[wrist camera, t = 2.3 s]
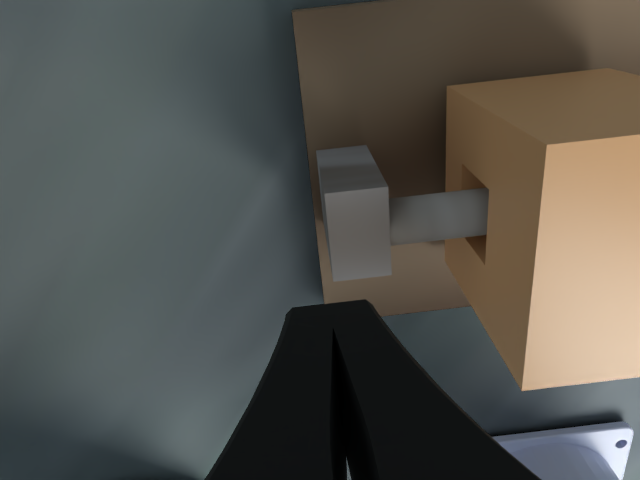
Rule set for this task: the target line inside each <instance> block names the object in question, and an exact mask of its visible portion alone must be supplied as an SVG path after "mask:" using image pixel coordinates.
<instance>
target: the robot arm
mask: <svg viewBox="0 0 640 480" xmlns="http://www.w3.org/2000/svg"><path fill="white" fill-rule="evenodd" d="M633 434H634V431H633V429H632V428H631V427H630V425H629V424H628V423H626V422H612V423H603V424H595V425H587V426H578V427H570V428H562V429H553V430H545V431H537V432H528V433H520V434H512V435H503V436H495V437H491V436H490V435H489V434H488V433H487V432H486V431H484V430H483V429H482V428H481V427H480V426H479V425H478V424H477V423H476V422H475V421H474V420H473V419H472V418H471V417H470V416H469V415H468V414H467V413H466V412H464V411H463V410H462V409H461V408H460V407H459V406H458V405H457V404H456V403H455V402H454V401H453V400H452V399H451V398H450V397H449V396H448V395H447V394H446V393H445V392H444V391H443V390H442V389H441V388H440V386H439V385H438V384H437V383H436V382H435V381H434V380H433V379H432V378H431V377H430V376H429V375H428V373H427V372H426V371H425V370H424V369H423V368H422V367H421V366H420V365H419V364H418V362H417V361H416V360H415V359H414V358H413V357H412V356H411V355H410V353H409V352H408V351H407V350H406V349H405V347H404V346H403V345H402V344H401V343H400V341H399V340H398V339H397V338H396V336H395V335H394V334H393V333H392V331H391V330H390V329H389V327H388V326H387V325H386V323H385V322H384V321H383V319H382V318H381V316H380V315H379V314H378V312H377V311H376V309H375V308H374V306H373V304H371V303H370V302H369V301H367V300H366V299H363V300H354V301H346V302H337V303H328V304H320V305H311V306H303V307H294V308H292V309H291V310H290V311H289V312H288V313H287V314H286V317H285V321H284V325H283V328H282V331H281V334H280V337H279V339H278V342H277V345H276V347H275V349H274V352H273V354H272V357H271V359H270V361H269V364H268V366H267V368H266V370H265V372H264V374H263V376H262V378H261V381H260V383H259V385H258V387H257V389H256V391H255V393H254V395H253V397H252V399H251V401H250V403H249V405H248V407H247V409H246V410H245V412H244V414H243V416H242V418H241V419H240V421H239V423H238V425H237V426H236V428H235V430H234V432H233V434H232V435H231V437H230V439H229V441H228V443H227V444H226V446H225V448H224V449H223V451H222V453H221V454H220V456H219V458H218V459H217V461H216V463H215V464H214V466H213V467H212V469H211V471H210V472H209V474H208V475H207V477H206V478H205V480H347V464H346V457H347V461H348V466H349V470H350V475H351V479H352V480H623V475H624V471H625V467H626V463H627V459H628V455H629V451H630V446H631V442H632V438H633Z"/></svg>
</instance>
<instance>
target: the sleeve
mask: <svg viewBox="0 0 640 480" xmlns="http://www.w3.org/2000/svg"><path fill="white" fill-rule="evenodd" d="M486 187H487V188H488V189H489V201H488V220H487V235H481V236H472V237H463V238H455V239H446V240H445V262H446V264H447V266H448V267H449V269H450V271H451V272H452V274H453V276H454V277H455V279H456V281H457V282H458V284H459V286H460V288H461V289H462V291H463V293H464V294H465V296H466V298H467V299H468V301H469V303H470V304H471V306H472V308H473V310H474V311H475V313H476V315H477V316H478V318H479V320H480V321H481V323H482V325H483V326H484V328H485V330H486V332H487V333H488V335H489V337H490V338H491V340H492V342H493V343H494V345H495V347H496V348H497V350H498V352H499V354H500V355H501V357H502V359H503V360H504V362H505V364H506V365H507V367H508V369H509V370H510V372H511V374H512V376H513V377H514V379H515V381H516V382H517V384H518V386H519V387H520V389H521V391H527V390H535V389H544V388H552V387H560V386H569V385H577V384H586V383H594V382H602V381H611V380H619V379H628V378H636V377H640V76H639V75H635V74H631V73H627V72H622V71H618V70H614V69H610V68H603V69H594V70H585V71H576V72H567V73H558V74H549V75H540V76H531V77H522V78H513V79H504V80H495V81H486V82H477V83H468V84H459V85H450V86H447V104H446V182H445V192H451V191H460V190H469V189H478V188H486Z"/></svg>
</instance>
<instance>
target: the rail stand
mask: <svg viewBox="0 0 640 480" xmlns="http://www.w3.org/2000/svg"><path fill="white" fill-rule="evenodd" d="M292 18H293V27H294V36H295V45H296V54H297V63H298V72H299V81H300V90H301V99H302V108H303V117H304V126H305V135H306V144H307V153H308V162H309V171H310V181H311V190H312V199H313V208H314V217H315V226H316V235H317V244H318V253H319V262H320V271H321V280H322V289H323V298H324V304H328V303H337V302H346V301H354V300H363V299H366V300H367V301H369V302H370V303H371V304H373V306H374V308H375V309H376V311H377V312H378V314H379V315H380V316H381V317H382V316H390V315H399V314H408V313H416V312H425V311H433V310H442V309H451V308H459V307H468V306H471V304H470V303H469V301H468V299H467V298H466V296H465V294H464V293H463V291H462V289H461V288H460V286H459V284H458V282H457V281H456V279H455V277H454V276H453V274H452V272H451V271H450V269H449V267H448V266H447V264H446V262H445V240H446V239H455V238H463V237H472V236H481V235H487V220H488V201H489V189H488V188H487V187H486V188H478V189H469V190H460V191H451V192H445V182H446V104H447V86H450V85H459V84H468V83H477V82H486V81H495V80H504V79H513V78H522V77H531V76H540V75H549V74H558V73H567V72H576V71H585V70H594V69H603V68H610V69H614V70H618V71H622V72H627V73H631V74H635V75H639V76H640V0H379V1H370V2H360V3H351V4H342V5H333V6H324V7H314V8H305V9H296V10H292Z"/></svg>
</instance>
